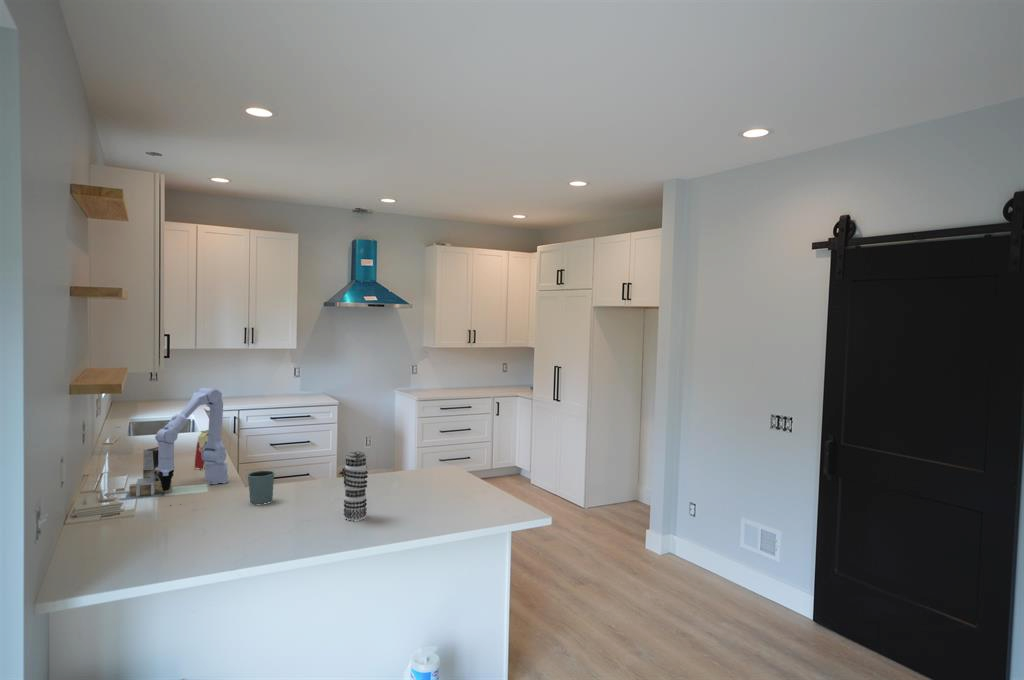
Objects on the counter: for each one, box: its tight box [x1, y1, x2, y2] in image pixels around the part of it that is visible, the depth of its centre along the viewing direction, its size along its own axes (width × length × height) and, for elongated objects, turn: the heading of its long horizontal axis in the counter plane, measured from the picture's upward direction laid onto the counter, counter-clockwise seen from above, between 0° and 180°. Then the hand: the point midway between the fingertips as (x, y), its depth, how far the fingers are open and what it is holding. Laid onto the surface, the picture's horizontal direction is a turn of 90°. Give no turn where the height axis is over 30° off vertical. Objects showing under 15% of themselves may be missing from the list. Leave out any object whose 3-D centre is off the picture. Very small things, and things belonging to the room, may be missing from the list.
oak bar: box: [129, 481, 173, 496], centre depth 256 cm, size 15×4×4 cm, turn 118°
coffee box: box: [142, 446, 161, 482], centre depth 276 cm, size 9×6×16 cm
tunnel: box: [135, 477, 155, 497], centre depth 256 cm, size 6×9×6 cm
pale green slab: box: [103, 483, 209, 501], centre depth 258 cm, size 38×14×2 cm, turn 118°
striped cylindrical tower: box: [343, 451, 369, 522], centre depth 234 cm, size 9×9×25 cm
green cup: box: [247, 470, 275, 505], centre depth 251 cm, size 10×10×12 cm
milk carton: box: [193, 429, 208, 470], centre depth 307 cm, size 9×9×20 cm
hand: (166, 489), depth 259 cm, fingers closed on oak bar, 4 cm apart
